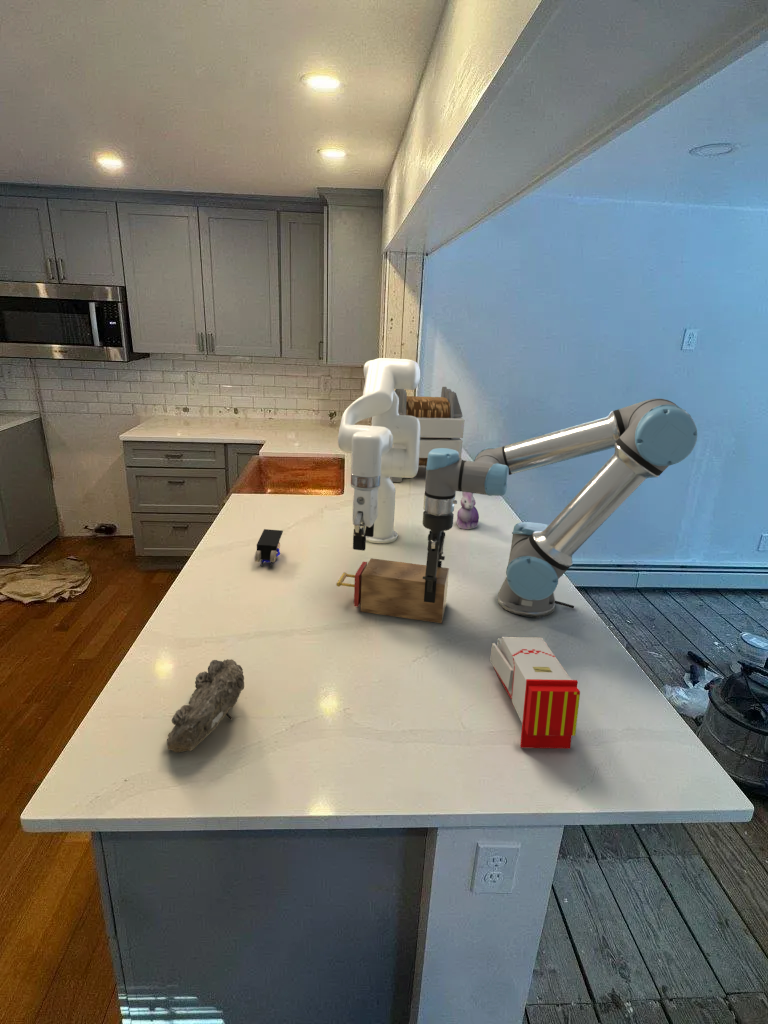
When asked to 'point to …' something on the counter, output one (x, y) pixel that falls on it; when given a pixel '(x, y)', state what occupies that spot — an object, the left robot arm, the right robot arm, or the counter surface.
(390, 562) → the cabinet
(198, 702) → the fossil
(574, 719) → the toy
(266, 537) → the figurine character
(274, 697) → the counter surface
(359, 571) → the drawer
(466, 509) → the figurine
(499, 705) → the counter surface
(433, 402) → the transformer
